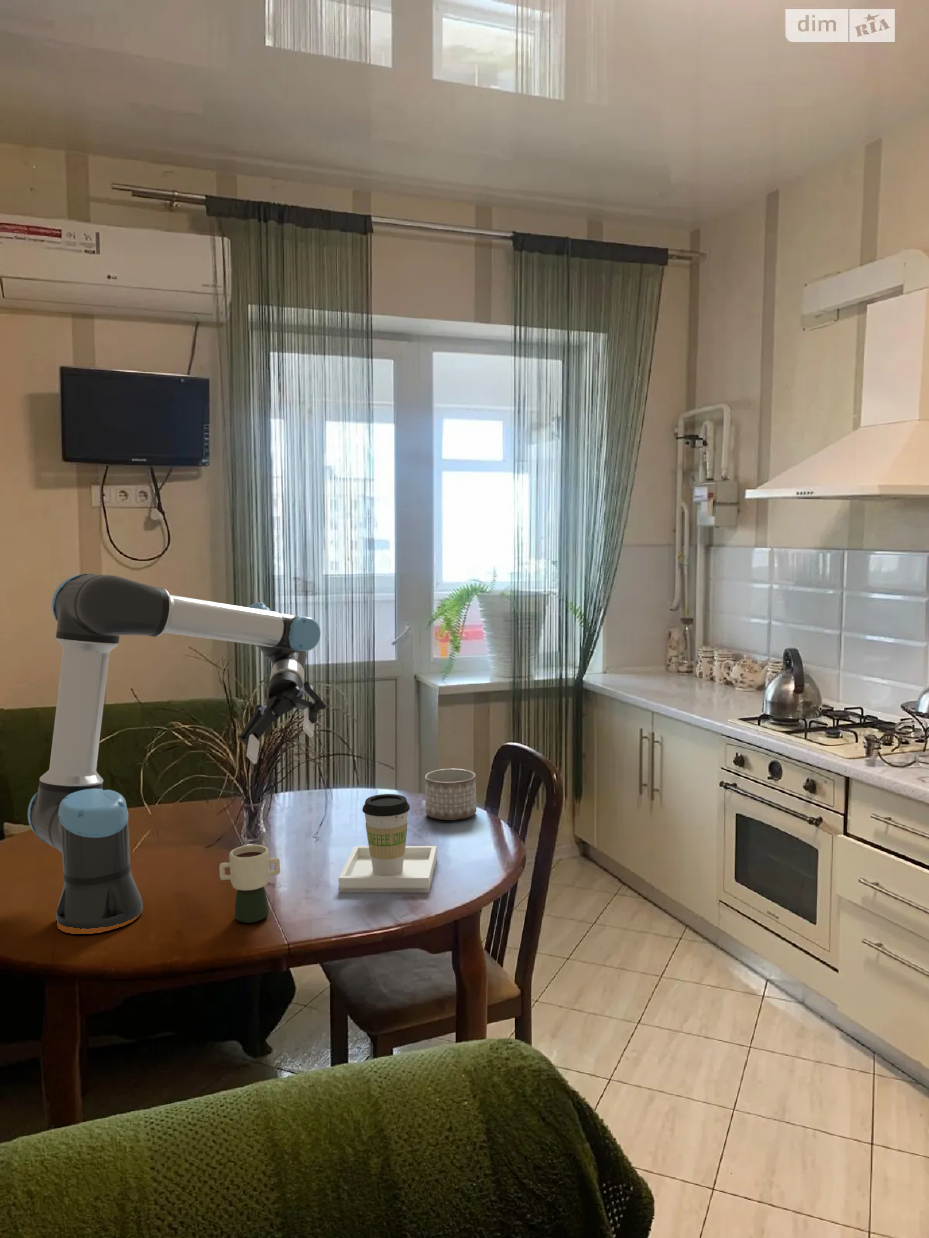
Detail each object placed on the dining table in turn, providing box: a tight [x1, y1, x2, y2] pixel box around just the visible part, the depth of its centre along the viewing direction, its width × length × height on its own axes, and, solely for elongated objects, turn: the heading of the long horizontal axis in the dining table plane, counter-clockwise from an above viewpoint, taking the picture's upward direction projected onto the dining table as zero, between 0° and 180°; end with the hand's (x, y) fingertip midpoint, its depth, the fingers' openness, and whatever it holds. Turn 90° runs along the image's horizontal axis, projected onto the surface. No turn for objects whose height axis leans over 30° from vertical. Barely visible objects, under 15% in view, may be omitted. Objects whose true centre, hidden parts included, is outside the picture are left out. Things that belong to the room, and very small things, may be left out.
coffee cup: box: [362, 793, 411, 876], centre depth 186 cm, size 10×10×15 cm
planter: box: [424, 768, 477, 821], centre depth 224 cm, size 13×13×10 cm
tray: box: [338, 845, 438, 894], centre depth 187 cm, size 18×18×3 cm
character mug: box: [218, 844, 281, 924], centre depth 167 cm, size 11×7×13 cm, turn 102°
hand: (279, 746), depth 184 cm, fingers open, 13 cm apart
